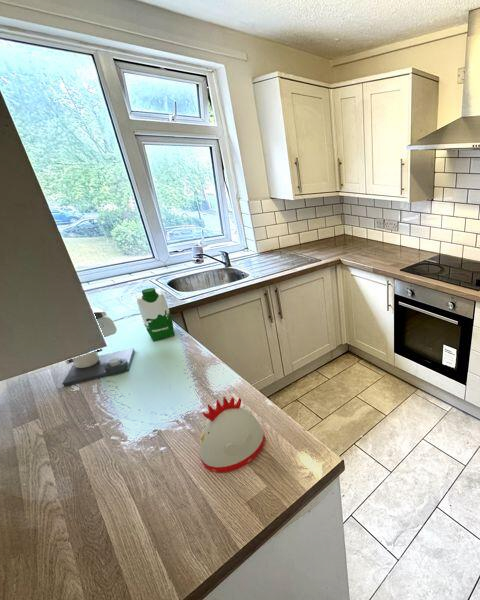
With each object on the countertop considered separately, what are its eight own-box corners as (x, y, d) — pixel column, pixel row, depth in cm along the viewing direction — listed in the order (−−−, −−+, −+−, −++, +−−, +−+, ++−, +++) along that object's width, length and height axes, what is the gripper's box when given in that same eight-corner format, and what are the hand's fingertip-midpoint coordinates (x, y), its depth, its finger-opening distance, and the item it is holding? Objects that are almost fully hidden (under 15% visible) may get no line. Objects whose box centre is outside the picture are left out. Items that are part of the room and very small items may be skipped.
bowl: (72, 371, 106) (66, 359, 104) (78, 361, 111) (72, 349, 109) (97, 365, 109) (92, 353, 107) (102, 356, 114) (97, 344, 112)
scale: (63, 388, 100) (59, 380, 99) (76, 364, 112) (73, 356, 110) (128, 372, 107) (125, 365, 106) (134, 351, 119) (132, 344, 118)
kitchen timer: (193, 447, 80) (177, 399, 74) (250, 418, 89) (239, 372, 83) (214, 484, 71) (197, 432, 65) (274, 447, 80) (264, 398, 74)
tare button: (109, 367, 105) (107, 363, 105) (111, 363, 108) (109, 359, 107) (120, 365, 107) (118, 361, 106) (122, 361, 109) (120, 357, 108)
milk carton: (150, 343, 124) (133, 294, 116) (148, 334, 130) (132, 287, 122) (177, 336, 129) (163, 289, 121) (174, 327, 136) (160, 282, 128)
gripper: (25, 336, 93) (46, 376, 99) (111, 309, 110) (124, 345, 115) (17, 331, 96) (38, 369, 102) (102, 306, 113) (116, 340, 118)
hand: (85, 356), depth 109 cm, fingers closed on bowl, 6 cm apart
